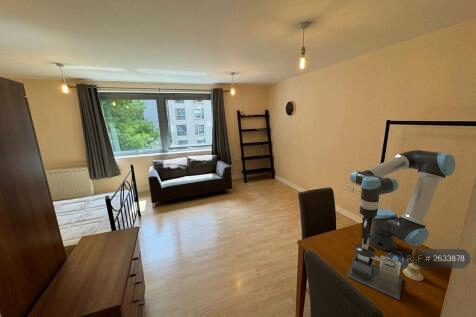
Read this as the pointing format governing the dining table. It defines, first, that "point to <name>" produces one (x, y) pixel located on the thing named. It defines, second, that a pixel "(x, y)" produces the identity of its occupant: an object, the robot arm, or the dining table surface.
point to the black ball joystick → (369, 255)
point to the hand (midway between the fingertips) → (364, 248)
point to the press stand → (378, 276)
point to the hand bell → (414, 267)
